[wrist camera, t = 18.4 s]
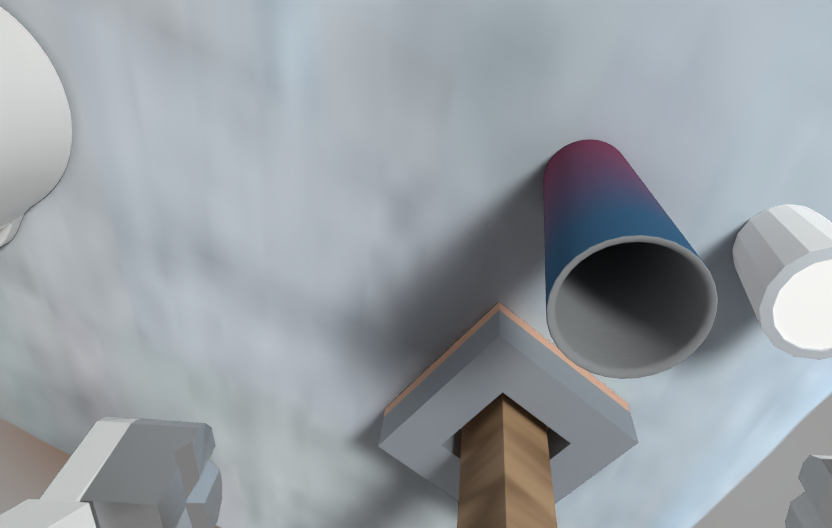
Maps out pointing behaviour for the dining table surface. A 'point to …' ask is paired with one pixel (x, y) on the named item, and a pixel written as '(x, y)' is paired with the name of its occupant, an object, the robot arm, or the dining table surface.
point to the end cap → (525, 384)
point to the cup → (618, 269)
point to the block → (505, 470)
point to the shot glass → (789, 277)
